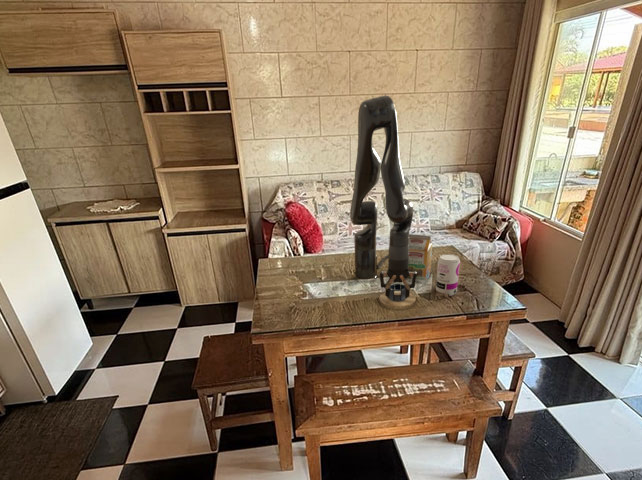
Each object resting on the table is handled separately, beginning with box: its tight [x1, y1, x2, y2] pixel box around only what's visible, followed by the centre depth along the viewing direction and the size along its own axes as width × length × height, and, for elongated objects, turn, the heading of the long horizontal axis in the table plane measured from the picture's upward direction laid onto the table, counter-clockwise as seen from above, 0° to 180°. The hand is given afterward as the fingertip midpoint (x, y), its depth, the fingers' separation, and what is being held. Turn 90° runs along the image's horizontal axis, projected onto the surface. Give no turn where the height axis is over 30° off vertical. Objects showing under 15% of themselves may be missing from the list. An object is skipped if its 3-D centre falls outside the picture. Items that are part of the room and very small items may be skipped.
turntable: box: [378, 292, 416, 307], centre depth 158 cm, size 14×14×2 cm
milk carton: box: [406, 233, 433, 281], centre depth 175 cm, size 11×11×19 cm
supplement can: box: [435, 253, 461, 297], centre depth 160 cm, size 8×8×15 cm
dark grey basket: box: [389, 283, 406, 302], centre depth 156 cm, size 8×6×5 cm
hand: (397, 297), depth 157 cm, fingers closed on dark grey basket, 6 cm apart
